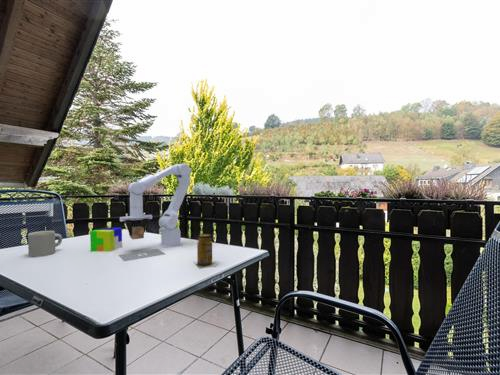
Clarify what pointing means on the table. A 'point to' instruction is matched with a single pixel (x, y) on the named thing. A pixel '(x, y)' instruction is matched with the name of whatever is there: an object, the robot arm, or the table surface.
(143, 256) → the gray tile
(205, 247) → the condiment
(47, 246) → the coffee mug
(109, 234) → the puzzle toy
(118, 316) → the table surface
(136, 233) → the walnut block
